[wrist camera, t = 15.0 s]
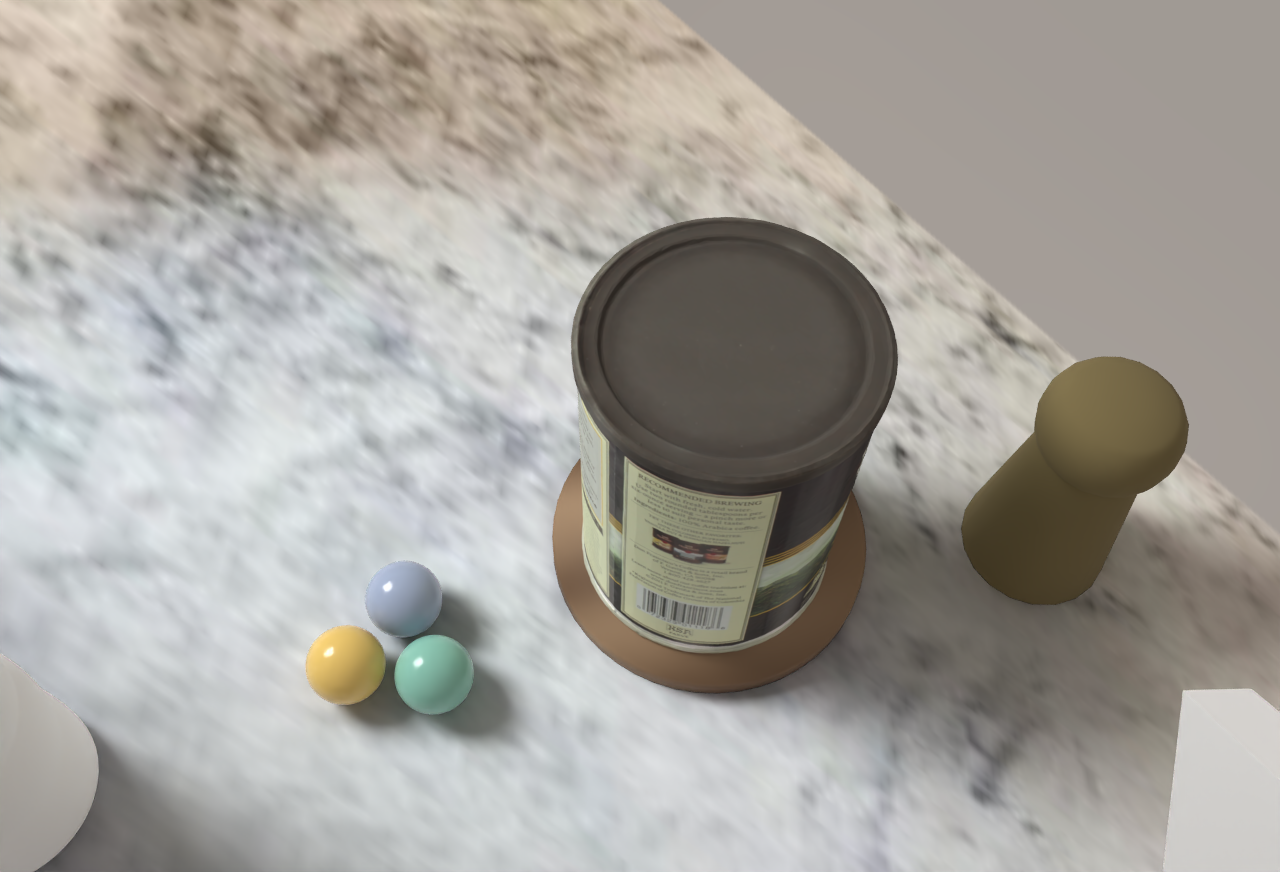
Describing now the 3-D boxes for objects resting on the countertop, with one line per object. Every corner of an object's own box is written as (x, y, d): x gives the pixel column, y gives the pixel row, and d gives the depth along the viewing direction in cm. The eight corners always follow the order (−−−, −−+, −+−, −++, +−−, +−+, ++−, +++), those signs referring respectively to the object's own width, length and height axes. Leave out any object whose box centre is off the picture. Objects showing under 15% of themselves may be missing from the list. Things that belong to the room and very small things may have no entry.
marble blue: (359, 602, 49) (346, 571, 47) (425, 567, 50) (416, 535, 48) (392, 662, 48) (380, 633, 45) (459, 625, 49) (451, 595, 46)
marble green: (387, 675, 48) (375, 647, 45) (455, 638, 49) (446, 608, 46) (421, 739, 46) (411, 714, 44) (490, 699, 47) (484, 672, 45)
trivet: (497, 498, 52) (496, 487, 51) (746, 369, 56) (749, 356, 55) (660, 754, 46) (661, 746, 46) (924, 591, 50) (930, 581, 49)
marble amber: (301, 666, 48) (284, 638, 45) (371, 629, 49) (358, 599, 46) (333, 729, 47) (318, 704, 44) (404, 690, 47) (393, 663, 45)
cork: (1075, 469, 53) (1177, 321, 44) (1124, 595, 50) (1244, 464, 41) (944, 486, 53) (1018, 339, 43) (985, 614, 50) (1074, 486, 40)
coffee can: (791, 414, 53) (846, 195, 41) (857, 631, 48) (942, 453, 36) (560, 450, 52) (547, 235, 40) (602, 676, 47) (602, 508, 35)
